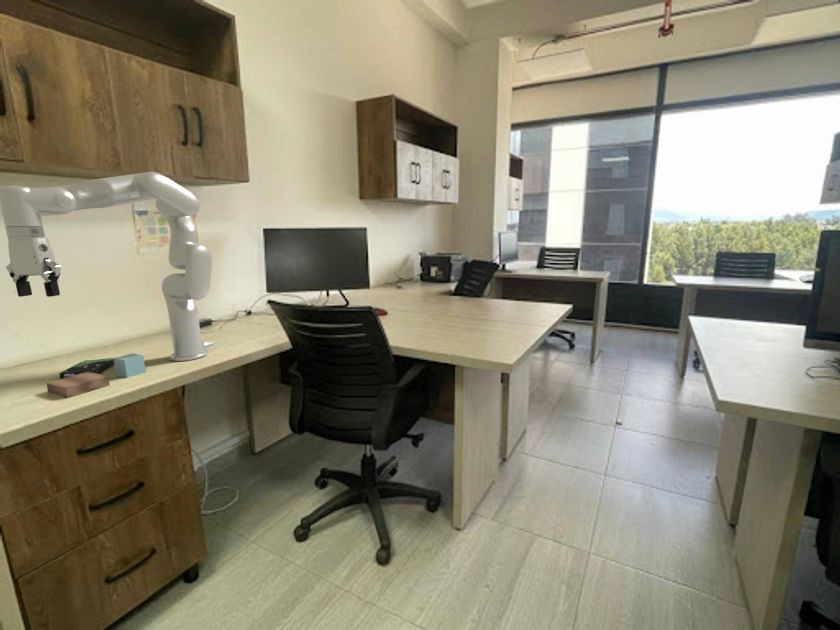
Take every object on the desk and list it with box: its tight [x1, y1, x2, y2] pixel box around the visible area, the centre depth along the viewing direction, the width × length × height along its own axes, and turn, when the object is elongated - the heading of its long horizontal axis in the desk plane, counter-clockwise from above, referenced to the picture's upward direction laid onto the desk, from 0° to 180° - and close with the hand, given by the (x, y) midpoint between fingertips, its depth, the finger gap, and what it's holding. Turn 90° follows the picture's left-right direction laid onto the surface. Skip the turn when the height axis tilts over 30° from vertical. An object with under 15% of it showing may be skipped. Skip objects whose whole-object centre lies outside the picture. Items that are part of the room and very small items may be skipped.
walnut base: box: [46, 372, 110, 399], centre depth 126 cm, size 11×11×3 cm
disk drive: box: [58, 357, 115, 379], centre depth 143 cm, size 10×3×15 cm
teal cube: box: [113, 353, 147, 378], centre depth 139 cm, size 6×6×6 cm
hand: (39, 295), depth 116 cm, fingers open, 9 cm apart
